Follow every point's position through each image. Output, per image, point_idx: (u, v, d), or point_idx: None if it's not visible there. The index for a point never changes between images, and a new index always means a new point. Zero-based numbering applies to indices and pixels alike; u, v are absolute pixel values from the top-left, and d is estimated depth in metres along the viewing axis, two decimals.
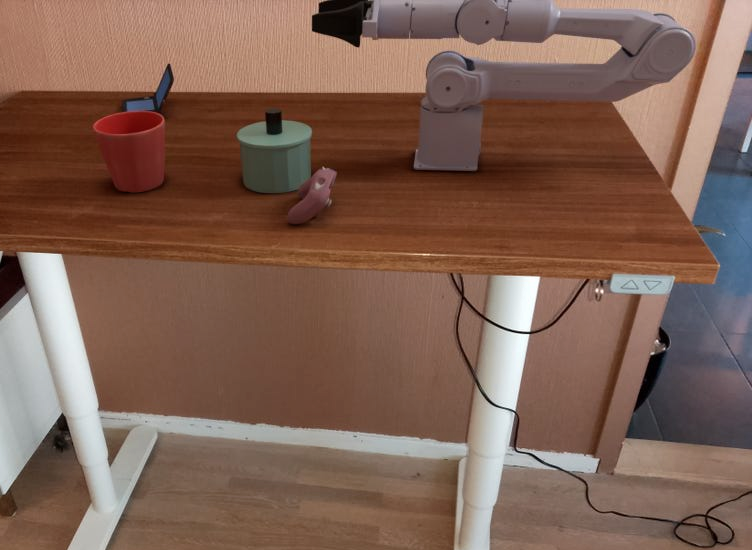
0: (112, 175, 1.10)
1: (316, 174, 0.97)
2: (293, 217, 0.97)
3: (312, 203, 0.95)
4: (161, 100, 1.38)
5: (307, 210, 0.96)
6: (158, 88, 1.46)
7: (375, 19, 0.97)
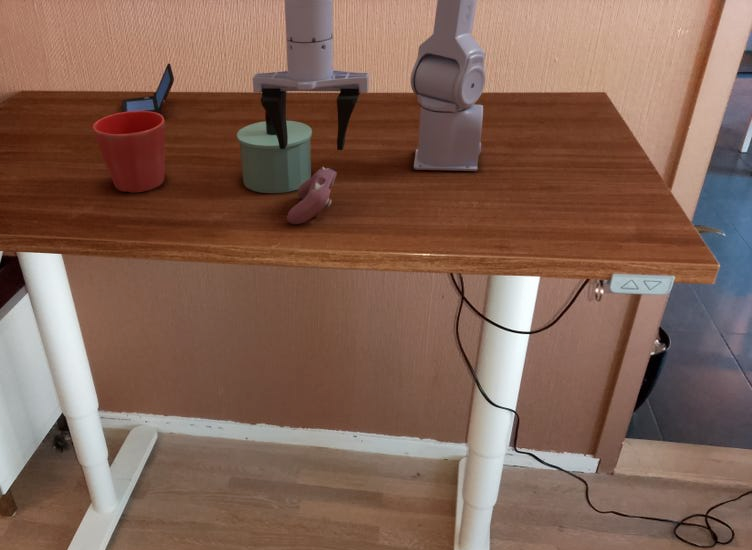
0: (112, 175, 1.10)
1: (316, 174, 0.97)
2: (293, 217, 0.97)
3: (312, 203, 0.95)
4: (161, 100, 1.38)
5: (307, 210, 0.96)
6: (158, 88, 1.46)
7: (359, 79, 0.88)
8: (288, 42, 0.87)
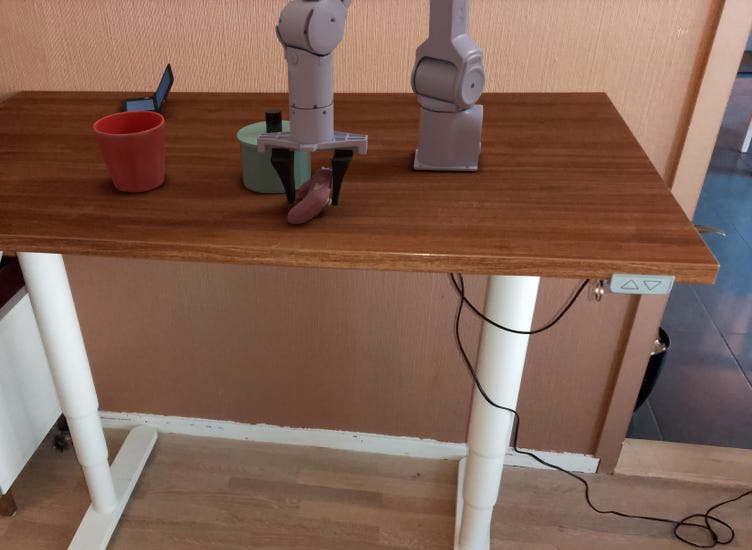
0: (112, 175, 1.10)
1: (316, 174, 0.97)
2: (293, 217, 0.97)
3: (312, 202, 0.95)
4: (161, 100, 1.38)
5: (307, 210, 0.96)
6: (158, 88, 1.46)
7: (358, 142, 0.93)
8: (291, 108, 0.91)
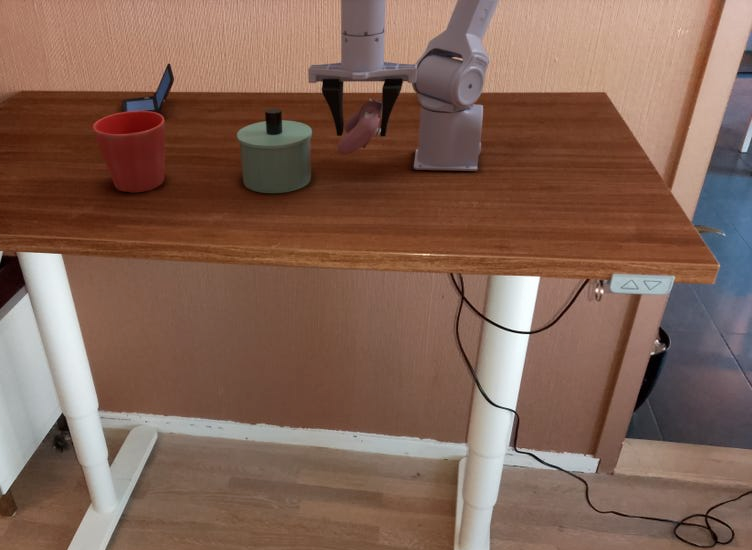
0: (112, 175, 1.10)
1: (365, 104, 0.99)
2: (343, 147, 0.99)
3: (362, 131, 0.97)
4: (161, 100, 1.38)
5: (357, 139, 0.98)
6: (158, 88, 1.46)
7: (409, 70, 0.95)
8: (344, 36, 0.94)
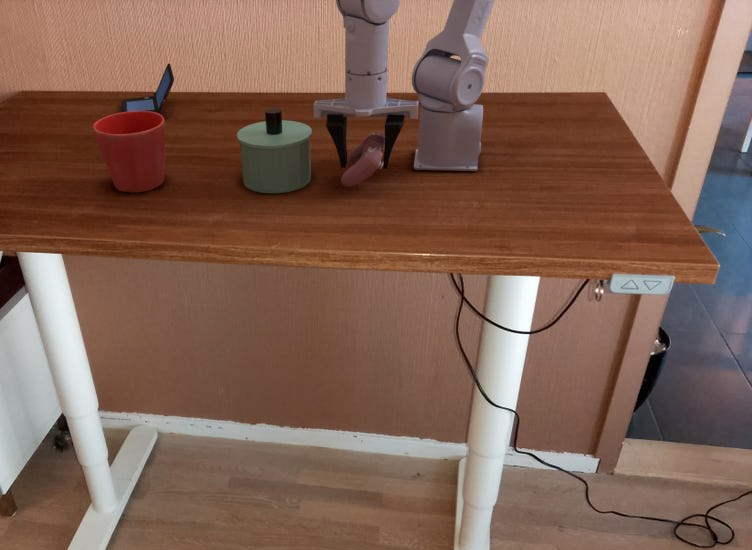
0: (112, 175, 1.10)
1: (368, 139, 1.03)
2: (347, 179, 1.03)
3: (365, 165, 1.01)
4: (161, 100, 1.38)
5: (360, 172, 1.02)
6: (158, 88, 1.46)
7: (410, 107, 0.99)
8: (348, 74, 0.97)
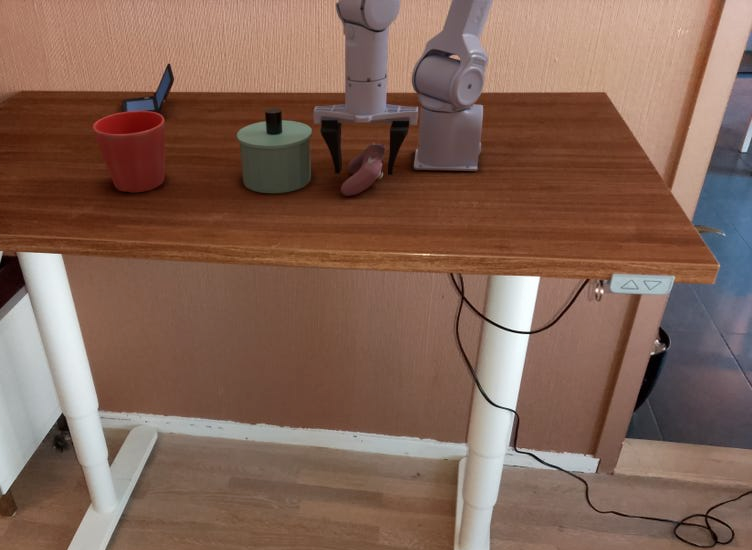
0: (112, 175, 1.10)
1: (368, 149, 1.04)
2: (347, 189, 1.04)
3: (365, 175, 1.02)
4: (161, 100, 1.38)
5: (360, 182, 1.02)
6: (158, 88, 1.46)
7: (410, 113, 0.99)
8: (347, 81, 0.98)
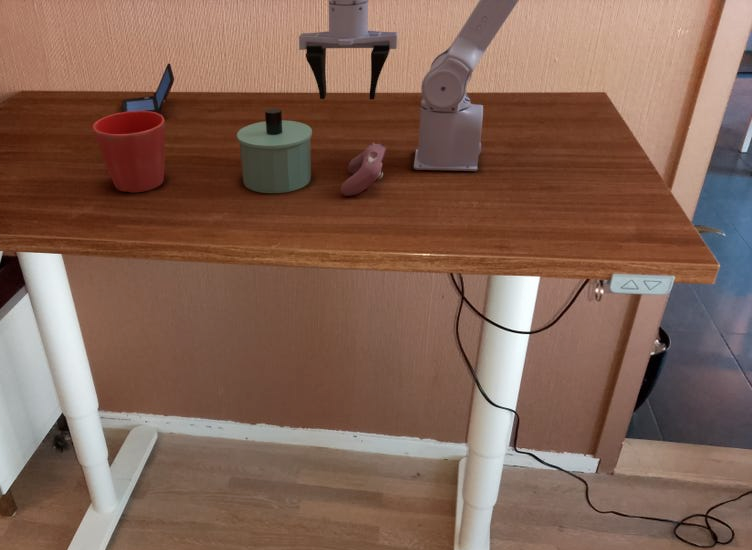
0: (112, 175, 1.10)
1: (368, 149, 1.04)
2: (347, 189, 1.04)
3: (365, 175, 1.02)
4: (161, 100, 1.38)
5: (360, 182, 1.02)
6: (158, 88, 1.46)
7: (390, 37, 1.05)
8: (331, 5, 1.03)
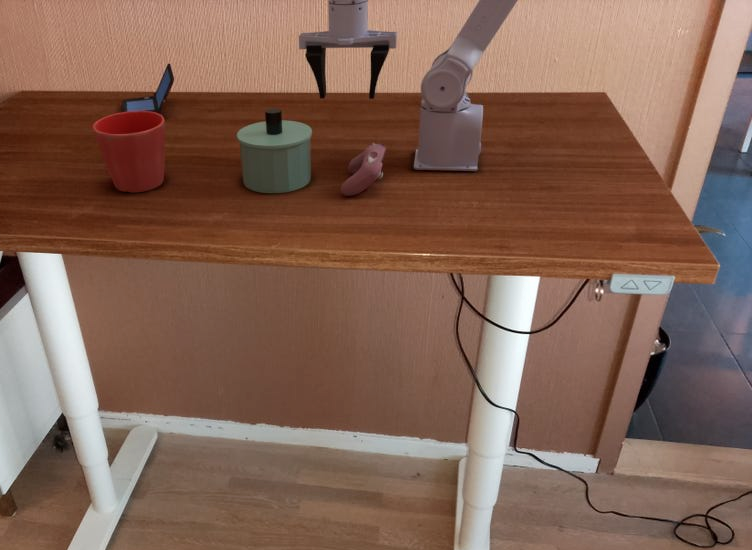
0: (112, 175, 1.10)
1: (368, 149, 1.04)
2: (347, 189, 1.04)
3: (365, 175, 1.02)
4: (161, 100, 1.38)
5: (360, 182, 1.02)
6: (158, 88, 1.46)
7: (389, 36, 1.05)
8: (330, 5, 1.04)
